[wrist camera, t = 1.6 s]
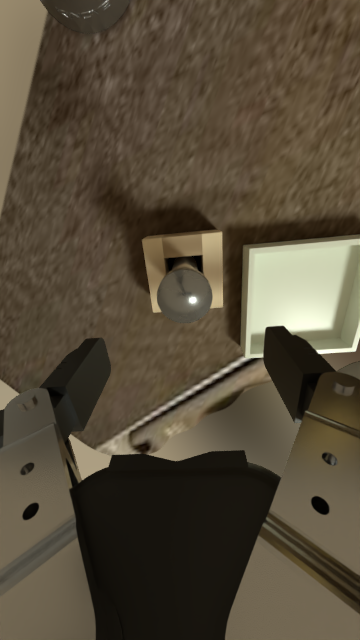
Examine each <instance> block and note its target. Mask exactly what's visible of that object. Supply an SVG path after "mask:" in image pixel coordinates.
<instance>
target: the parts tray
mask: <svg viewBox="0 0 360 640" xmlns="http://www.w3.org/2000/svg"><path fill="white" fill-rule="evenodd" d="M269 326H285V328H286V329H287V330H288V331H289V332H290V333H291V334H292V335H297V336H299V337H301V338H303V339H305V340H306V341H307V342H308V343H309V344H310V345H311V346H312V347H313V348H314V349H315V350H316V351H317V352H318V354H324V353H340V352H356V349H357V345H358V342H359V339H360V234H357V235H346V236H336V237H325V238H314V239H303V240H292V241H282V242H271V243H260V244H249V245H243V264H242V300H241V336H240V347H241V349H242V352H243V354H244V357H245V358H260V357H263V351H264V338H265V329H266V327H269Z"/></svg>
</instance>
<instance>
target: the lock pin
mask: <svg viewBox="0 0 360 640" xmlns="http://www.w3.org/2000/svg"><path fill="white" fill-rule="evenodd" d="M212 299H213V295H212V289H211V286H210V284H209V281H208V280H207V278H206V277H205V276H204V275H203V274H202V273H201V272H199V271H198V267H197V263H196V261H195V259H194V258H193V257H191V256H183V257H177V258H176V259H175V261H174V263H173V267H172V271H170V272H169V273H167V274H166V275H165V276H164V277H163V279H162V280H161V282H160V285H159V288H158V291H157V303H158V306H159V308H160V310H161V311H162V313H163V314H164V315H165V316H166V317H167V318H169V319H171V320H173V321H175V322H179V323H191V322H194V321H197V320H199V319H200V318H202V317H203V316H204V315H205V314H206V313H207V312H208V310H209V309H210V307H211V304H212Z"/></svg>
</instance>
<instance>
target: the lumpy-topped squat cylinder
mask: <svg viewBox="0 0 360 640" xmlns="http://www.w3.org/2000/svg"><path fill="white" fill-rule="evenodd" d="M336 372H341V373H345V374H348V375H351V376H354V377H356V378H358V379H359V380H360V361H358V362H354V363H351V364H349V365H347V366H345V367H343V368H341V369H339V370H338V371H336Z"/></svg>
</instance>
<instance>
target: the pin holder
mask: <svg viewBox="0 0 360 640" xmlns="http://www.w3.org/2000/svg"><path fill="white" fill-rule="evenodd" d="M142 244H143V250H144V257H145V263H146V269H147V276H148V282H149V288H150V295H151V301H152V307H153V313H154V312H162V311H161V310H160V308H159V306H158V303H157V291H158V288H159V285H160V282H161V280H162V279H163V277H164V276H165V275H166V274H167V273H169V266H168V258H172V257H183V256H194V255H201V271H202V274H203V275H204V276H205V277H206V278H207V280H208V281H209V284H210V286H211V289H212V295H213V299H212V304H211V307H210V308H219V307H223V271H222V232H221V231H219V230H217V229H215V230H205V231H194V232H184V233H174V234H164V235H153V236H147V237H146V238H144V239H142Z"/></svg>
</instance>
